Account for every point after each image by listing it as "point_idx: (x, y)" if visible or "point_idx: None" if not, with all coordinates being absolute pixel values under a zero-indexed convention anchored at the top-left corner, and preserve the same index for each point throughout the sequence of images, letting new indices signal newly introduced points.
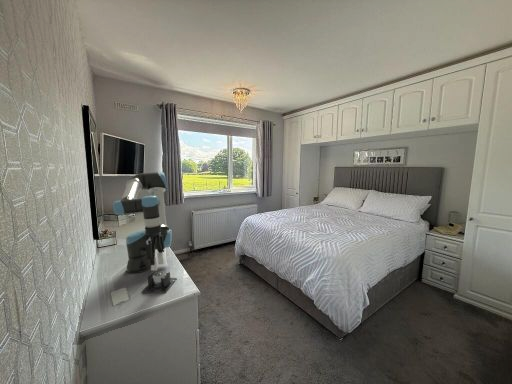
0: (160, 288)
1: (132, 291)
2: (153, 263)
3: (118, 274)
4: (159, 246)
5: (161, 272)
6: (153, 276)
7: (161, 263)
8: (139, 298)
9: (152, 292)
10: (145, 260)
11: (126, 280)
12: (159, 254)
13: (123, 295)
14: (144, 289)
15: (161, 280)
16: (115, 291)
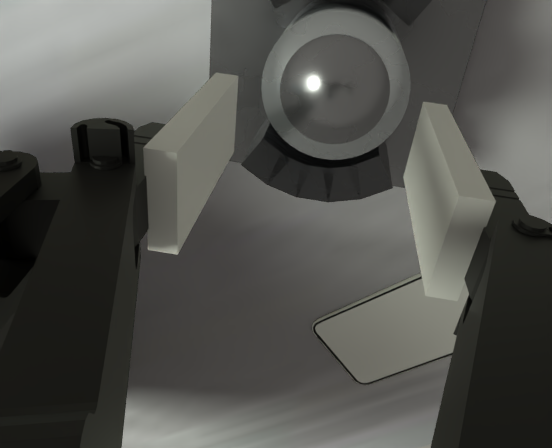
0: (424, 20)
1: (381, 262)
2: (503, 186)
3: (134, 417)
4: (121, 293)
5: (304, 66)
6: (385, 136)
7: (234, 105)
8: (514, 170)
9: (457, 86)
10: (2, 336)
11: (213, 351)
12: (186, 192)
13: (431, 300)
14: (399, 177)
15: (391, 27)
16: (357, 363)
